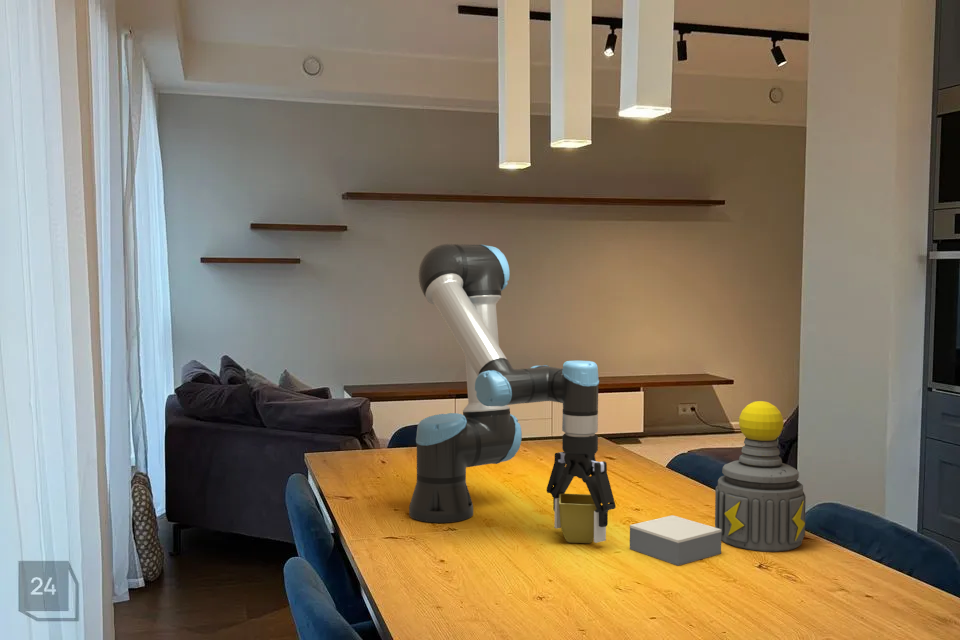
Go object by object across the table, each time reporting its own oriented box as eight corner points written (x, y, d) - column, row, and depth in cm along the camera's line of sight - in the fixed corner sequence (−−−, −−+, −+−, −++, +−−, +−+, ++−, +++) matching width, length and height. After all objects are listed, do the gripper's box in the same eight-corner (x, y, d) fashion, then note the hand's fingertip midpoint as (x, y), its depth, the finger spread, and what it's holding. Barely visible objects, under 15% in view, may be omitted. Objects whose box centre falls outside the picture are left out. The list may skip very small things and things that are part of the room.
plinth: (678, 565, 168) (678, 540, 168) (629, 548, 179) (629, 525, 179) (721, 553, 176) (721, 529, 176) (672, 538, 186) (672, 515, 186)
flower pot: (599, 534, 189) (599, 494, 188) (600, 547, 180) (601, 504, 180) (558, 533, 190) (559, 493, 189) (558, 545, 181) (558, 503, 180)
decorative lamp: (695, 537, 187) (697, 400, 185) (745, 522, 199) (747, 393, 198) (774, 559, 172) (777, 410, 171) (822, 541, 184) (825, 402, 183)
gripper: (633, 440, 176) (632, 544, 177) (556, 424, 196) (555, 518, 197) (607, 444, 172) (606, 551, 173) (530, 427, 191) (530, 524, 192)
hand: (579, 534), depth 185 cm, fingers closed on flower pot, 12 cm apart
